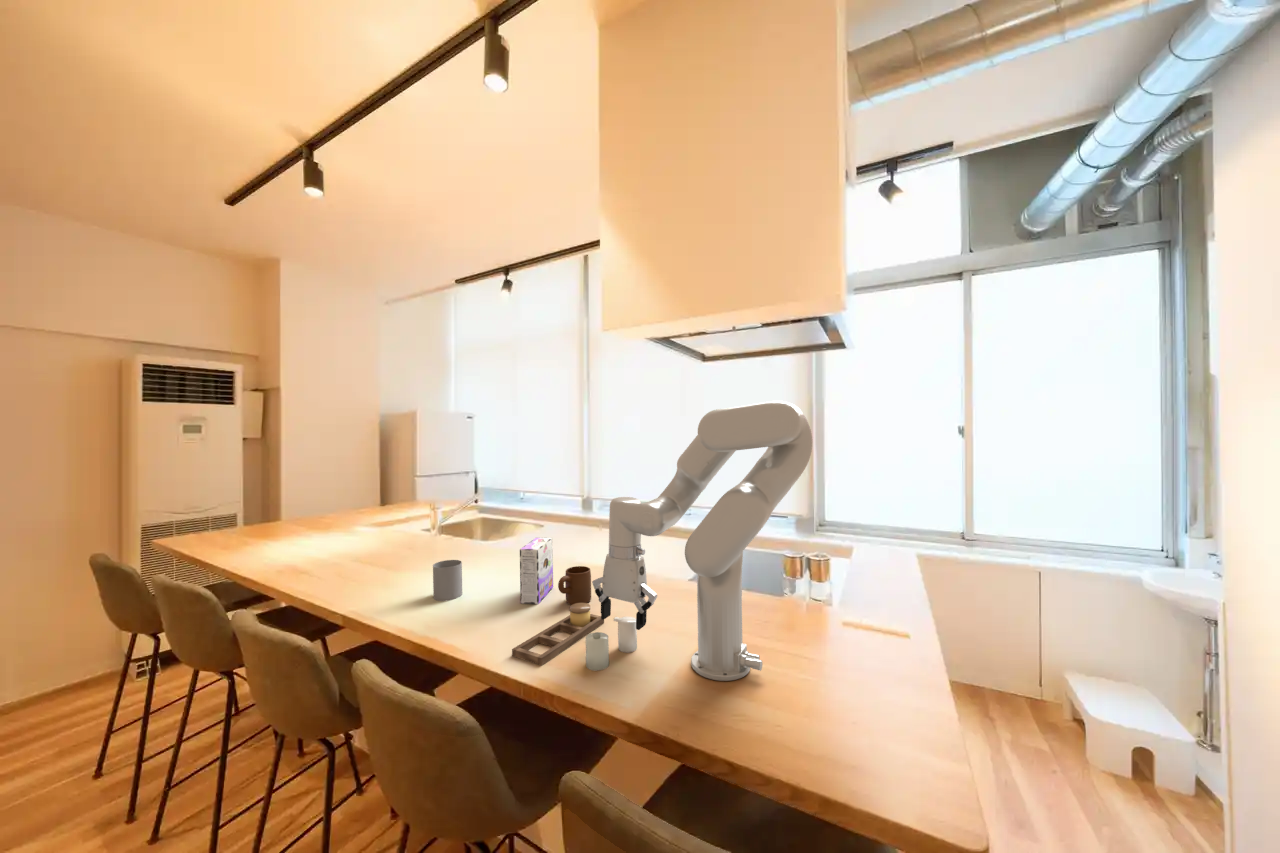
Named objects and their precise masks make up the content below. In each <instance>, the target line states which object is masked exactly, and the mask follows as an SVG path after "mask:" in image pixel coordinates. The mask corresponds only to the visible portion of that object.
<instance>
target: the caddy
mask: <svg viewBox="0 0 1280 853" xmlns="http://www.w3.org/2000/svg"><path fill="white" fill-rule="evenodd" d="M604 624H605V619H604V620H603V619H601V615H597V614H593V613H590V623H589V624H587V625H586V626H584V627H579V626H575V625H571V624H570V614H569V615H568V616H566V617H564V618H562V619H561V620H559V621H557V622H556V623H554V624H552V625H550V626H549V627H547V628H545V629H543V630H542V631H540V632H539V633H537V634H535V635H533V636H531V637H530V638H528V639H527V640H525V641H524V642H521V643H520V644H519V645H517V646H515V647H513V648H512V649H511V656H512V657H514V658H517V659H519V660H520V659H521V660H523V661H526V662H529V663H533V664H536V665H540V666H543V665H545V664H546V663H549V661H551V660H552V659H554V658H555V657H557V656H558V655H559V654H561V653H562V652H564V651H565V650H567V649H569V648H570V647H572V645H574V644H576V643H577V642H579V641H580V640H581V639H583V638H584V637H586V636H587V635H589V634H591V632H592V633H593V631H595V630H596V629H597V628H599V627H601V626H602V625H604ZM559 631H561V632H564V633H568V634H570V635H569V636H568V637H566V638H564V639H561V638H556V637H552V636H553V635H554V634H556V633H558V632H559ZM538 644H542V645H545V646H547V647H548V646H549V647H550V648H549V649H548V650H545V651H544V652H543V653H542V654H541V653H537V652H534V651H531V650H530V649H532V648H534V647H535V646H536V645H538Z"/></svg>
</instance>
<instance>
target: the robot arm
mask: <svg viewBox="0 0 1280 853" xmlns="http://www.w3.org/2000/svg"><path fill="white" fill-rule="evenodd" d="M697 425H698V426H697V434H696V436H695V438H693V440H692V441H691V442H690V443H689V445H687V447H686V449H685V450H684V451H683V452H682V454H680V456H679V457H678V459H677V462H676V472H675V474H674V476H673V478H672V479H671V481H670V482H669V483H668V485H667V486H666V487H665V488H664V489H663V491H662V492H661V493H660V494H659V496H658V497H656V498H654V499H652V500H649V501H647V502H641V500H640V499H639V498H636V497H630V496H629V497H628V496H619V497H614V498H613V499H611V500H610V502H609V515H608V516H609V518H608V519H609V521H608V553H607V554H606V556H605V560H604V564H603V572H602V573H603V574H602V576H601V577H599V578H596V579H594V580H591V584H592V586H593V588H594V593H595V594H596V596H597V597H598V601H599V603H600V616H601V619H603V620H604V621H605V620H606V619H607V618H608V617H610V616H611V611H612V609H611V608H612V604H611V603H612V600H611V598H612V599H615V600H618V601H624V602H628V603H631V604H634V605H635V607H636V609H637V611H636V613H635V614H636V617H635V618H636V629H637V631H640V630H641V629H642V628H644V627H645V626H646V624H647V610H648V609H650V608H651V607H652V606H653V605H654V604H655V602H656V600H657V598H658V594H657V593H656V592H655V591H654V590H653V589H651V587H650V586H648V583H647V582H648V581H647V567H646V563H645V558H644V556H645V554H646V550H645V548H642V543H641V542H642V541H641V540H642V539H641V538H642V535H643V536H646V537H656V536H657V537H658V536H659V535H662V534H663V533H664V532H666V531H667V530H669V529H670V528H672V527H673V526H675V525H676V524H677V523H678V522H679V521H680V520H681V519H682V517H684V515H685V514H686V512H688V511H689V509H690V508H691V507H692V506H693V504H694V503H695V502H696V500H697V499H698V498H699V496H700V495H701V493H703V491H705V489H706V488H707V486H708V485H709V484H710V483H711V481H712V480H713V479H714V477H715V476H716V475H717V474H718V472H719V471H720V470H721V469H722V468H723V466H724V465H725V464H726V463H727V462H728V461H729V459H730V458H731V457H732V455H734V454H735V452H737V451H745V450H751V449H759V448H767V449H766V450H765V452H763V454H762V455H761V457H760V458H759V459H758V460H757V461H756V463H755V464H754V465H753V467H752V468H751V469H750V471H749V472H748V473H747V474H746V475H745V476H744V478H743V479H742V480H741V481H740V482H739V483H738V484H737V485H735V486H733V487H732V488H730V489H729V490H728V491H726V492H725V493H723V495H722V496H721V497H720V498H719V499H718V500H717V501H716V503H715V505H713V507H712V508H711V509H710V511H709V512H708V513H707V514H706V515H705V517H704V518H703V519H702V520H701V522H700V523H699V524H698V525H697V526H696V528H695V529H694V530H693V531H692V532H691V534H690V535H689V537H688V538H687V540H686V542H685V546H684V557H685V559H684V560H685V562H686V564H687V566H688V567H689V569H690V570H691V571H692V572H694V573H695V574H696V575H697V579H696V580H697V582H696V584H697V585H696V586H697V588H696V591H697V594H696V596H697V597H696V600H697V604H696V605H697V606H696V607H697V650H696V651H695V652H694V653H693V654H692V656H691V657H690V663H691V664H690V665H691V667H692V669H693V670H694V672H696V674H698V675H700V676H701V677H704V678H706V679H709V680H714V681H721V682H724V681H725V682H729V681H735V680H739V679H742V678H744V677H745V676H747V675H748V674H749V672H750V670H751V669H752V670H757V671H760V672H761V671H762V669H763V660H761V659H760V655H759V654H756V653H751V652H749V651H748V646H747V644H746V643H743V598H742V597H743V563H744V562H743V561H744V560H743V559H744V550H745V549H746V548H747V547H748V546H749V545H750V544H751V543H752V541H753V540H754V539H755V538H756V536H757V535H758V534H759V533H760V531H762V529H763V528H764V526H765V525H766V523H767V522H768V520H769V519H770V518H771V515H772V513H773V511H774V510H775V509H776V507H777V506H778V505H779V504H780V502H782V500H783V499H784V498H785V496H786V495H787V494H788V492H789V491H790V490H791V488H793V486H794V485H795V484H796V483H797V481H798V480H799V479H800V477H801V476H802V474H803V473H804V471H805V470H806V467H807V466H808V464H809V461H810V459H811V456H812V451H813V433H812V429H811V427H810V424H809V421H808V420H807V418H806V416H805V414H804V412H803V411H802V410H801V409H800V408H799V407H798V406H797V405H796V404H793V403H792V402H788V401H783V400H772V401H766V402H765V401H764V402H759V403H751V404H747V405H741V406H734V407H726V408H717V409H713V410H711V411H708V412H707V413H705V414H704V416H702V418H701V419H700V421H699V424H697ZM601 584H602V585H601ZM646 597H647V598H648V599H647V600H646V599H645V598H646Z"/></svg>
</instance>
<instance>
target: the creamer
mask: <svg viewBox="0 0 1280 853" xmlns="http://www.w3.org/2000/svg"><path fill="white" fill-rule="evenodd" d="M613 622H617V643H618V644H617V647H618V650H619V651H620V652H622V653H632V652H636V651H637V650H638V634H637V633H638V630H637V629H636V617H634V616H622V617H618V616H615V617H614V618H613Z"/></svg>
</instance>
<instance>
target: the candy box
mask: <svg viewBox="0 0 1280 853" xmlns="http://www.w3.org/2000/svg"><path fill="white" fill-rule="evenodd" d="M553 558H554V557H553V537H535V538H533V539H532V540H531V541H529V542H528V543H526V544H525V545H524V546H522V547H521V548H520V549H519V577H520V578H519V579H520V580H519V582H520V583H519V584H520V586H519V588H520V589H519V590H520V594H519V595H520V597H519V598H520V604H523V605H524V604H525V605H539V604H540V603H541V602H542V601H543V600H544V599H545V597H546V596H547V595H549V593H550V591H551V590H552V589H553V588H554V561H553V560H554V559H553Z"/></svg>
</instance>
